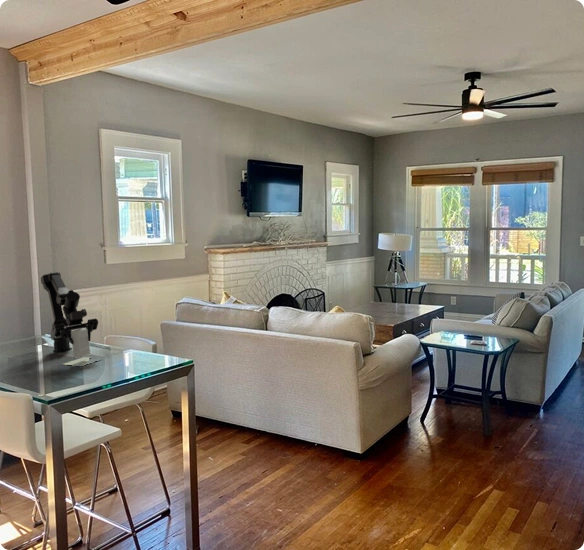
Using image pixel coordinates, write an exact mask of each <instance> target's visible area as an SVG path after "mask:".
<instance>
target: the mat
mask: <svg viewBox="0 0 584 550" xmlns="http://www.w3.org/2000/svg"><path fill="white" fill-rule="evenodd" d="M89 358H90V357H87V356H85V357H82V358H76V359H74V360H71V361H68V362H65V363H64V362H63V363H62V366H67V365H72V366H71V367H74V366H73V365H79V364H81V365H82V366H83V367H85V366H84V364H86V363H87V362H88V361H89Z"/></svg>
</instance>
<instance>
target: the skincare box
mask: <svg viewBox="0 0 584 550" xmlns="http://www.w3.org/2000/svg"><path fill="white" fill-rule="evenodd" d="M71 338H72V340H73V345H72V344H71V345H72V353H73V358H74V359H75V358H76V359H80V358H83V357H87V356H90V355H91V350H90V349H91V348H90V341H89V339H88V330H87V329H86V328H81V329H76V330H72V331H71Z"/></svg>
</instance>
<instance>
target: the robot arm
mask: <svg viewBox="0 0 584 550" xmlns="http://www.w3.org/2000/svg"><path fill="white" fill-rule="evenodd" d="M40 283H41V285H42V287H43V289H44V290H45V291H46V292H47V293H48V297H49V298H48V299H49V302H50V306H51V307H50V308H51V311H52V316H53V323H52V325H51V330H50V331H51V332H50V339H51V340H52V341H54V342H53V350H52V351H53V352H56V353H64V352H66V351H70V350H73V347H71V345H73V340H72V337H71V331H74V330H78V329H87V330H88V339H89V342H91V338H92V337H91V333H92V332H93V331H96V330H97V329H98V325H99V320H98V319H97V318H89V319H87V321H86V322H85V323H82V322H83V321H84V320H83V319H84V317H87V315H88V314H87V313H88V311H87V310H86V308H82V309H80V310H78V309H77V308H78V307H79V303H80V297H81V295H80V294H79V293H78V292H76V291H74V290H73V289H70V288H67V287H66V284H65V282H64V281H63V279H62V276H61V272H58V271H55V272H50V273H46V274H45V273H44V274H43V275H42V276H41V277H40ZM70 344H71V345H70Z"/></svg>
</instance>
